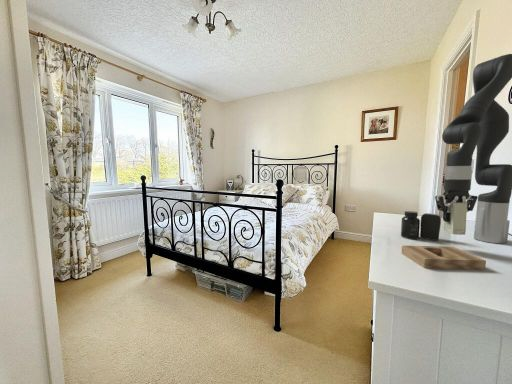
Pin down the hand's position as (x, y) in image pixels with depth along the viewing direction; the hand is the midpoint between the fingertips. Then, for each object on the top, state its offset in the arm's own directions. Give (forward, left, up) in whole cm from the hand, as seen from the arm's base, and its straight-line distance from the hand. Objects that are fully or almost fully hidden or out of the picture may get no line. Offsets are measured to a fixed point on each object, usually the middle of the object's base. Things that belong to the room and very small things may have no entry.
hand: (453, 221), depth 83 cm
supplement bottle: (+7, -14, -11) cm, 19 cm away
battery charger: (-1, -13, -11) cm, 17 cm away
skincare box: (0, 0, -5) cm, 5 cm away
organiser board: (+13, +12, -11) cm, 21 cm away
